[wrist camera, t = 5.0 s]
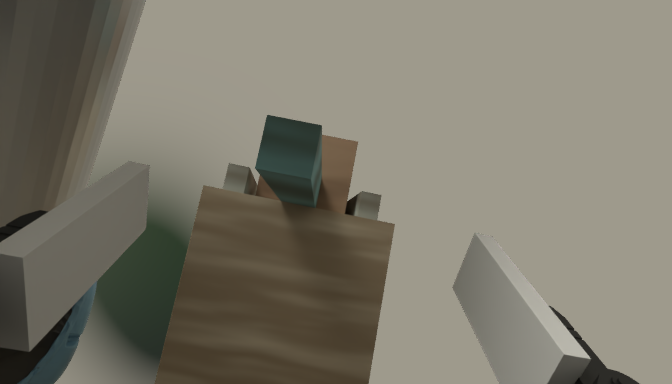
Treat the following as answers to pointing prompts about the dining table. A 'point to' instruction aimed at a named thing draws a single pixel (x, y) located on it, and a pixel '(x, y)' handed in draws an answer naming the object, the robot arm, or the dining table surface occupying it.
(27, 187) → the robot arm
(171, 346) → the wooden board
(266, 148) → the teal and brown block
